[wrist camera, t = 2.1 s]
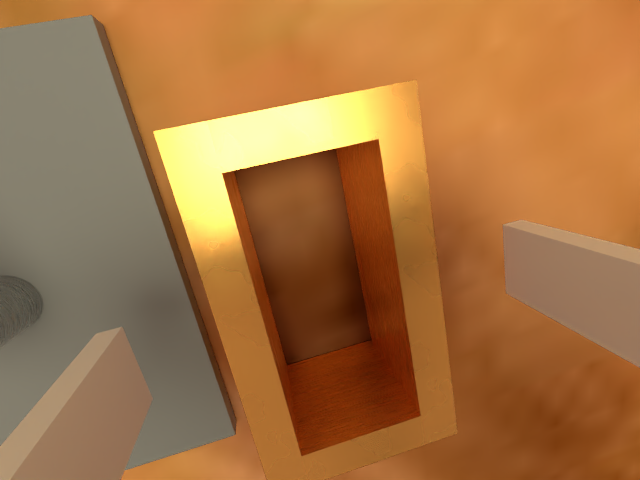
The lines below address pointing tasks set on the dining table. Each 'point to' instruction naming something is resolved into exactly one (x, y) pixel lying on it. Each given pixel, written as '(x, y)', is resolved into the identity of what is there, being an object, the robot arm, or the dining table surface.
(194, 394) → the keeper plate
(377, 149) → the framed display niche
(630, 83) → the dining table surface
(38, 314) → the hook
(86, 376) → the robot arm
